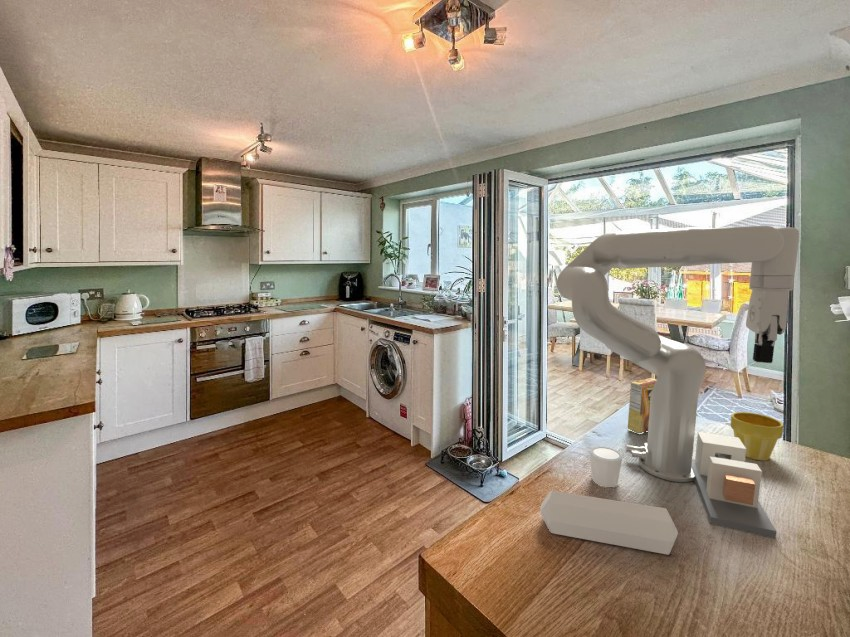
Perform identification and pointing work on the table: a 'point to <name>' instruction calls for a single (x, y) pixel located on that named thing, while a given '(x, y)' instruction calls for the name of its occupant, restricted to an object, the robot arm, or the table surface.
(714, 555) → the table surface
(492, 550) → the table surface
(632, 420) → the candy box
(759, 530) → the bearing base
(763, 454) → the plant pot
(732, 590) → the table surface
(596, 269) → the robot arm
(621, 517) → the crystal
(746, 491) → the shaft
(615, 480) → the shot glass
